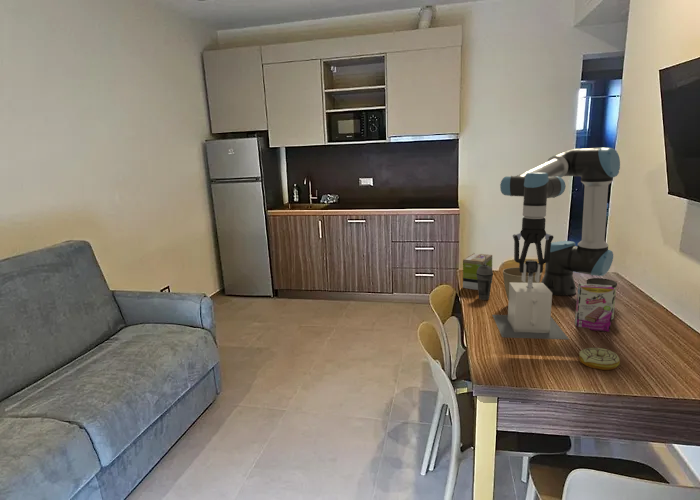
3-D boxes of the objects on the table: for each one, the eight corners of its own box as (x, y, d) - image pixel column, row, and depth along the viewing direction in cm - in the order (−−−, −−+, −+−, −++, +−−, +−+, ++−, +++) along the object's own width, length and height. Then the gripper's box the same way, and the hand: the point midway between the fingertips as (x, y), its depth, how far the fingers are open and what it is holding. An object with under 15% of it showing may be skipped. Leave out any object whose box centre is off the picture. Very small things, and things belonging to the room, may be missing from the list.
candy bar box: (576, 329, 158) (579, 286, 155) (574, 324, 163) (577, 282, 159) (611, 332, 154) (615, 288, 151) (607, 327, 159) (612, 284, 156)
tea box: (473, 280, 223) (473, 252, 220) (492, 283, 217) (493, 254, 214) (462, 288, 211) (462, 258, 208) (482, 291, 205) (483, 261, 202)
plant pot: (546, 312, 175) (549, 274, 172) (512, 316, 173) (514, 277, 169) (526, 301, 190) (528, 265, 186) (494, 303, 187) (496, 268, 184)
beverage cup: (490, 295, 198) (491, 253, 194) (494, 301, 191) (495, 257, 187) (474, 295, 199) (475, 253, 194) (477, 301, 192) (478, 257, 187)
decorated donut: (576, 354, 139) (577, 343, 139) (614, 358, 136) (615, 347, 135) (581, 369, 130) (582, 357, 129) (622, 374, 126) (623, 362, 126)
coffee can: (583, 310, 177) (585, 276, 174) (612, 313, 172) (615, 279, 169) (584, 318, 168) (587, 284, 165) (615, 322, 163) (619, 286, 160)
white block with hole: (540, 320, 165) (542, 282, 162) (551, 336, 151) (554, 295, 147) (507, 319, 167) (509, 282, 164) (515, 335, 153) (517, 294, 149)
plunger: (538, 319, 164) (541, 258, 159) (545, 328, 154) (549, 264, 149) (511, 318, 165) (514, 258, 160) (517, 328, 156) (520, 264, 151)
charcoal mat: (550, 318, 169) (550, 315, 169) (569, 342, 148) (569, 339, 148) (492, 316, 173) (492, 314, 172) (502, 339, 152) (502, 337, 151)
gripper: (556, 215, 154) (552, 278, 159) (506, 215, 156) (503, 278, 161) (563, 218, 146) (558, 284, 151) (510, 218, 149) (507, 283, 154)
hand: (530, 281), depth 156 cm, fingers closed on plunger, 4 cm apart
